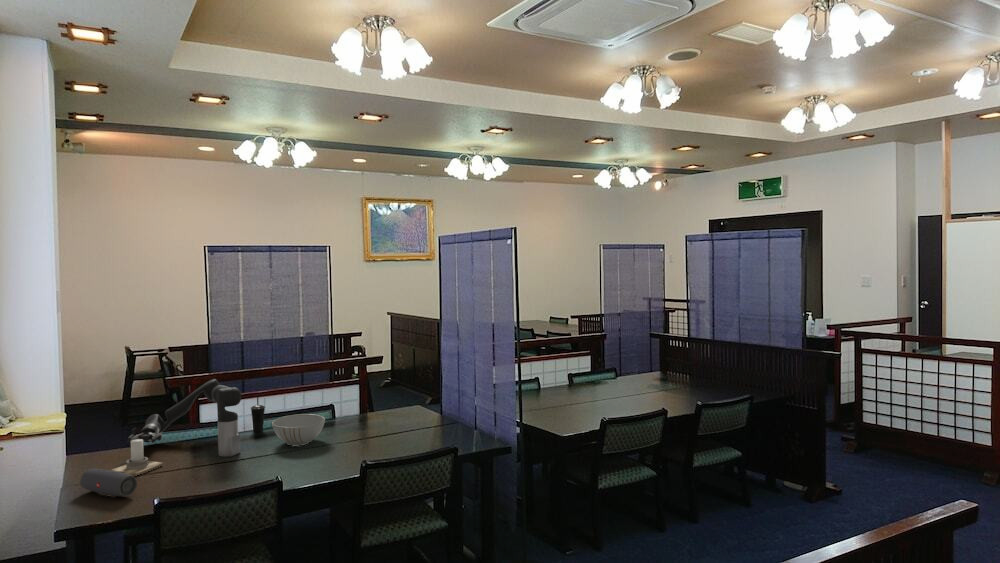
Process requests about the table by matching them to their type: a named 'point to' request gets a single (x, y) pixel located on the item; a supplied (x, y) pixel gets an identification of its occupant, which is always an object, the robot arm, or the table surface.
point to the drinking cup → (258, 417)
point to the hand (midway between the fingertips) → (142, 441)
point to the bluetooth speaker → (108, 482)
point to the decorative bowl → (298, 428)
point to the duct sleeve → (137, 450)
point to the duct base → (139, 471)
